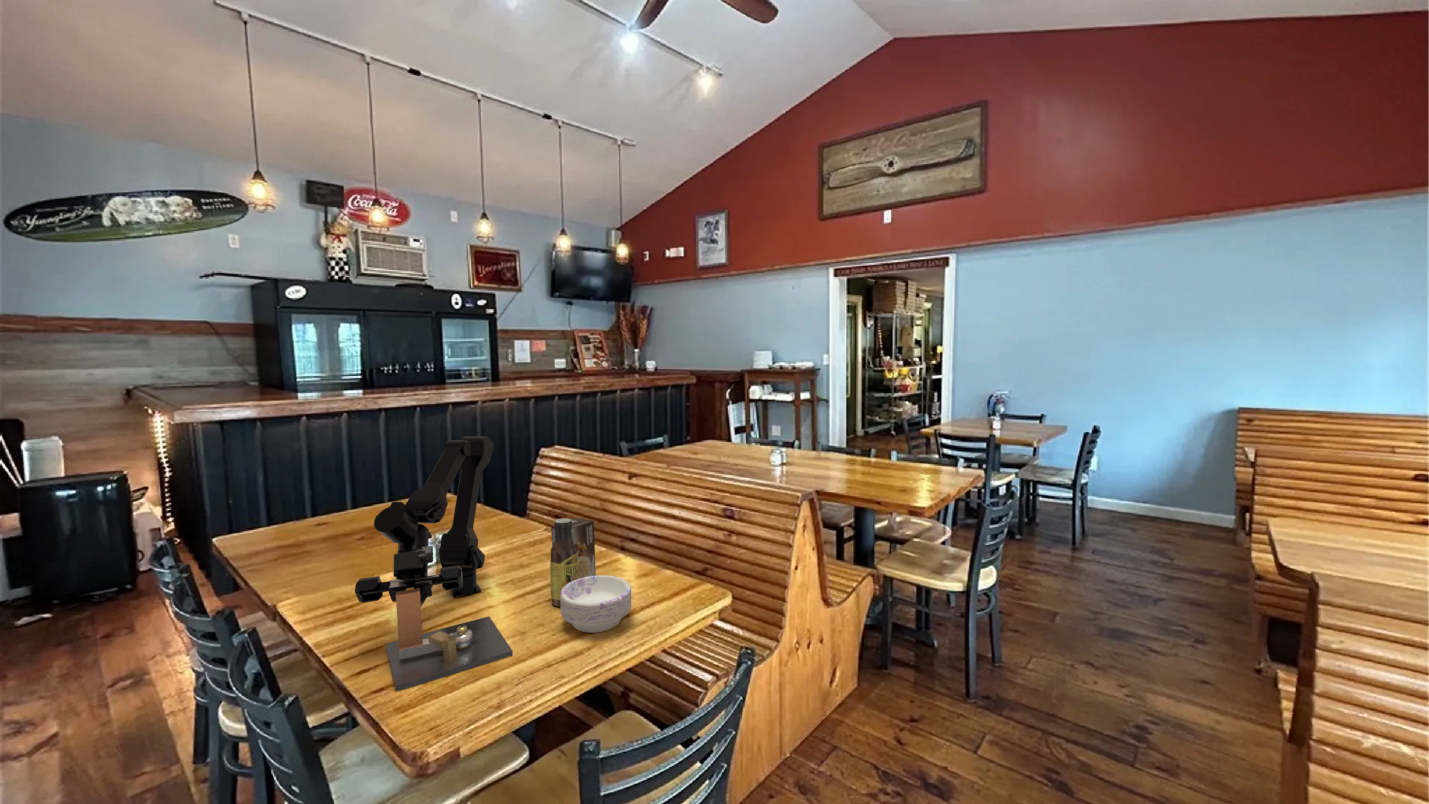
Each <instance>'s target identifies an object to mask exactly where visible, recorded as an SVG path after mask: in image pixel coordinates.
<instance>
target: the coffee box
mask: <svg viewBox="0 0 1429 804" xmlns="http://www.w3.org/2000/svg"><path fill="white" fill-rule="evenodd" d="M570 519H571V520H572V526H571V535H572V540H573V542H574V545H575V548H576V550H577V566H578V579H580V578H584V577H588V576H597V572H596V570H597V568H596V550H595V549H596V547H595V520H593V519H586V518H580V517H574V518H570ZM550 529H551V546H552V545H553V543H554V542H555V540H556V539H555V526H554V524H553V525H551V526H550Z"/></svg>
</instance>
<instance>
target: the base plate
mask: <svg viewBox="0 0 1429 804" xmlns="http://www.w3.org/2000/svg"><path fill="white" fill-rule="evenodd" d="M462 625H465V626H467V629H468V630H471V631H472V642H471V643H470V645H469V646H468V647H466V648H463V649H456V653H457V659H455V660H454V661H452V662H450V663H449V662H446V661H444V654H443V650H440V651H435V652H431V653H426V654H422V655H418V656H413V657H409V658H404V659H400V660H399V641H398V639H397V640H394V641H390V642H386V643H385V651H386V654H387V659H388V663H389V666H390V670H391V675H392V678H393V683H394V687H395V691H396V692H399V691H402V690H407V689H409V688H412V687H416V686H418V685H422V684H425V683H428V682H432V681H435V680H439V679H441V678H444V677H448V676H452V675H454V674H458V673H461V672H464V671H467V670H470V669H473V668H477V667H480V666H483V665H487V664H490V663H493V661H494V662H497V661H499V659H500V660H502V659H501V658H503V659H506V657H507V656H510V657H513V656H514V655H513V654H514V653H513V649H512V648H511V646H510V645H509V643H508V641H506V638H505V637H504V636H503V635H502V633H501V631H500V630H499V628H498V627H497V626H496V624H495V622H494V621H493V619H492V618H491V616H484V617H481V618H477V619H474V620H470V621H466V622H462V623H459V624H458V623H457V624H454V625H451V626H447V627H442V628H438V629H436V630H431V631H428V632H425V633H424V632H422V637H423V639H428V638H429V637H428V636H430V635H433V634H435V633H437V632H439V631H441V632H444V633H446V634H451V633H455V632H457V627H459V626H462ZM512 655H513V656H512ZM507 658H508V657H507Z"/></svg>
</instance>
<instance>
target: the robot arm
mask: <svg viewBox="0 0 1429 804" xmlns="http://www.w3.org/2000/svg"><path fill="white" fill-rule="evenodd" d="M494 448H495V447H494V442H493V441H492V440H491V439H490V438H489V437H488V436H463V437H462V438H460V439H458V440H457V439H456V440H451V439H450V440H449V441H446V442H445V444H444V450H443V452H442V454H441V455H440V458H439V459H438V461H437V463H436V465H435V467H434V468H433V470H432V472H431V474H430V475H429V478H428V479H427V481H426V483H425V484H424V485H423V486H421V487H419V488H417V489H416V490H414V492H413V493H412V494H411V496H410V497H409V498H408V499H407V501H406V503H404V502H402V501H392V502H391V503H390V506H388V507H386V508H384V509H382V510H381V511H380V512H379V513H378V514H377V515H376V516H375V517H374V520H373V526H374V529H376V531H378V532H379V533H380V534H381V535H383V536H384V537H385V538H387V540H389V541H391V542H392V543H395V544H397V553H395V554H393V574H392V575H393V577H394V578H395V579H390V580H388V581H382V579H381V576H380V575H377V576H370V577H364V578H363V577H361V578H359V579H358V580H357V582H355V586H354V587H355V588H354V593H355V595H356V597H357V600H358V602H359V603H363V604H365V603H371V602H378V601H380V600H381V598H383V595H384V593H387V592H388V594H389V597H390V599H391V600H390V601H391V602H392V603H396V592H399V591H405V590H410V589H416V588H420V600H421V607H422V606H423V605H424V603H425V601H426V600H427V598H429V597H432V596H433V590H432V588H433V586H434V585H435V586H436V585H442V586H441V587H442V589H443V590H445V591H449V593H450V595H451V597H452V598H454V599H456V598H460V597H463V596H468V595H472V594H477V593H481V592H482V589H481V587H480V586H479V584H478V581H477V580H478V578H477V576H478V575H477V570H478V569H482V568H483V567H484V564H485V561H486V560H485V559H486V555H485V554H484V552H483V551H482V550H481V549H480V548H479V539H478V537H477V534H476V532H475V530H474V525H475V520H476V519H475V518H476V512H477V504H478V500H479V499H478V498H479V493H480V491H479V490H480V486H481V479H482V472H483V471H484V469H485V468H486V467H487V466H488V465H489V464H490V462H491V459H492V455H493V452H494V450H495V449H494ZM459 471H460V477H459V481H458V482H459V483H458V486H457V494H456V500H455V506H454V511H453V518H452V524H451V528H450V529H449V530H448V531H447V533H442V535H441V537H440V545H439V548H438V552H437V553H438V555H437V556H438V559H439V563H440V566H441V567H440V569H439V573H438V574H433V575H428V572H429V571H428V569H429V564H430V563H431V564H432V563H433V562H434V546H433V545H429V539H432V538H433V535H432V533H431V532H430V529H429V528H428V527H427V526H426V525H424V524H437V523H438V524H439V523H441V521H442V519H443V518H444V517H445V514H446V512H447V511H446V510H447V507H448V505H449V503H448V499H447V495H448V492H449V491H450V488H451V487H452V484H453V482H454V480H455V479H456V478H457V477H456V476H457V475H458V472H459Z"/></svg>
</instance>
